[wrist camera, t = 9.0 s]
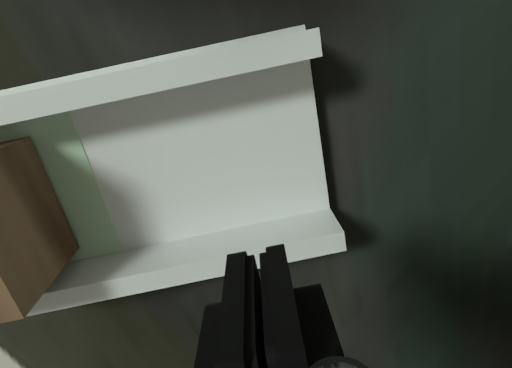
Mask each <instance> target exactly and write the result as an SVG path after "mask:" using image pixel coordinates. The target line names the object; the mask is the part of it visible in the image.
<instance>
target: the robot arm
mask: <svg viewBox="0 0 512 368" xmlns="http://www.w3.org/2000/svg"><path fill="white" fill-rule="evenodd" d="M259 258H260V276H261V281H260V277H259V273H258V269H257V264H256V260H255V256H254V255H249V256H248V255H247V252H246V251H243V252H238V253H233V254H228V255H227V259H226V267H225V276H224V285H223V293H222V302H219V303H214V304H208V305H206V306H205V310H204V315H203V320H202V326H201V331H200V337H199V342H198V348H197V353H196V359H195V364H194V368H368V367H367V366H366V365H364V364H363V363H361V362H360V361H358V360H355V359H352V358H350V357H344V354H343V351H342V348H341V345H340V342H339V338H338V335H337V332H336V329H335V326H334V323H333V320H332V317H331V314H330V311H329V308H328V305H327V302H326V299H325V296H324V293H323V290H322V287H321V284H315V285H310V286H304V287H299V288H294V289H293V286H292V281H291V276H290V271H289V266H288V261H287V257H286V252H285V247H284V244H279V245H274V246H269V247H266V252H264V253H259Z"/></svg>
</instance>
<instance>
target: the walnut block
mask: <svg viewBox="0 0 512 368" xmlns="http://www.w3.org/2000/svg"><path fill="white" fill-rule="evenodd" d="M78 249H79V245H78V243H77V241H76V238H75V236H74V234H73V232H72V229H71V227H70V225H69V223H68V221H67V218H66V216H65V214H64V212H63V209H62V207H61V205H60V203H59V201H58V198H57V196H56V194H55V192H54V189H53V187H52V185H51V183H50V181H49V178H48V176H47V174H46V172H45V169H44V167H43V165H42V163H41V161H40V158H39V156H38V154H37V152H36V149H35V147H34V145H33V143H32V140H31V138H30V136H28V137H23V138H18V139H14V140H9V141H4V142H0V323H5V322H10V321H15V320H19V319H24V318H25V317H26V315H27V314H28V313H29V312H30V310H31V309H32V308H33V306H34V305H35V304H36V303H37V301H38V300H39V299H40V297H41V296H42V295H43V294H44V292H45V291H46V290H47V289H48V287H49V286H50V285H51V283H52V282H53V281H54V280H55V278H56V277H57V276H58V274H59V273H60V272H61V271H62V269H63V268H64V267H65V265H66V264H67V263H68V262H69V260H70V259H71V258H72V256H73V255H74V254H75V253H76V251H77V250H78Z"/></svg>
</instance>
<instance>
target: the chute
mask: <svg viewBox="0 0 512 368" xmlns="http://www.w3.org/2000/svg"><path fill="white" fill-rule="evenodd" d="M322 56H323V55H322V47H321V39H320V31H319V27H318V28H313V29H308V30H306V29H305V24H304V25H300V26H295V27H290V28H286V29H281V30H277V31H272V32H267V33H263V34H258V35H254V36H249V37H244V38H240V39H235V40H230V41H226V42H221V43H217V44H212V45H207V46H203V47H198V48H194V49H189V50H184V51H180V52H175V53H171V54H166V55H161V56H157V57H152V58H148V59H143V60H138V61H134V62H129V63H125V64H120V65H115V66H111V67H106V68H101V69H97V70H92V71H88V72H83V73H78V74H74V75H69V76H65V77H60V78H55V79H51V80H46V81H42V82H37V83H32V84H28V85H23V86H19V87H14V88H9V89H5V90H0V142H4V141H9V140H14V139H18V138H23V137H28V136H30V138H31V140H32V143H33V145H34V147H35V149H36V152H37V154H38V156H39V158H40V161H41V163H42V165H43V167H44V169H45V172H46V174H47V176H48V178H49V181H50V183H51V185H52V187H53V189H54V192H55V194H56V196H57V198H58V201H59V203H60V205H61V207H62V209H63V212H64V214H65V216H66V218H67V221H68V223H69V225H70V227H71V229H72V232H73V234H74V236H75V238H76V241H77V243H78V245H79V249H78V250H77V251H76V253H75V254H74V255H73V256H72V258H71V259H70V260H69V262H68V263H67V264H66V265H65V267H64V268H63V269H62V271H61V272H60V273H59V274H58V276H57V277H56V278H55V280H54V281H53V282H52V283H51V285H50V286H49V287H48V289H47V290H46V291H45V292H44V294H43V295H42V296H41V297H40V299H39V300H38V301H37V303H36V304H35V305H34V306H33V308H32V309H31V310H30V312H29V313H28V314H27V315H26V316H31V315H36V314H41V313H46V312H51V311H55V310H60V309H65V308H70V307H75V306H80V305H85V304H90V303H94V302H99V301H104V300H109V299H114V298H119V297H124V296H128V295H133V294H138V293H143V292H148V291H153V290H158V289H163V288H167V287H172V286H177V285H182V284H187V283H192V282H197V281H201V280H206V279H211V278H216V277H221V276H225V267H226V259H227V255H228V254H233V253H238V252H243V251H246V252H247V255H248V256H249V255H254V256H255V260H256V264H257V269H260V258H259V253H264V252H266V247H269V246H274V245H279V244H284V247H285V252H286V257H287V261H288V263H289V262H294V261H299V260H304V259H309V258H313V257H318V256H323V255H328V254H333V253H338V252H343V251H347V250H346V242H345V234H344V231H343V229H342V227H341V226H340V224H339V222H338V221H337V219H336V217H335V216H334V214H333V212H332V211H331V209H330V205H329V198H328V190H327V183H326V176H325V168H324V161H323V154H322V146H321V139H320V132H319V124H318V117H317V110H316V102H315V95H314V88H313V80H312V73H311V66H310V59H313V58H317V57H322Z"/></svg>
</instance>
